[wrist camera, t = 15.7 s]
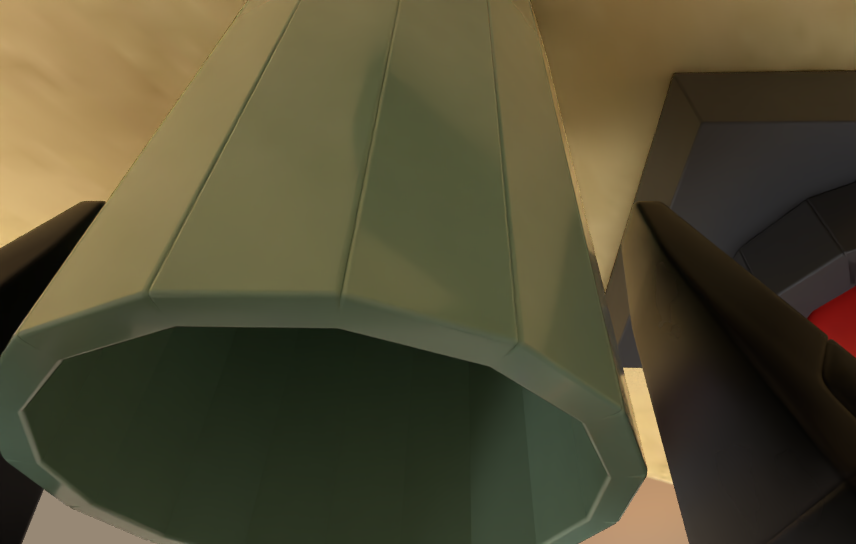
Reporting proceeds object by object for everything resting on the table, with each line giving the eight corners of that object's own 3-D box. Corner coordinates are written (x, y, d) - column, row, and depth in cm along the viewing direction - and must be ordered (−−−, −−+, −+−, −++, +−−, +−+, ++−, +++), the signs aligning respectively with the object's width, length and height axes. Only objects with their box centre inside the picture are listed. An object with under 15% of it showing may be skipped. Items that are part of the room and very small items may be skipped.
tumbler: (561, -100, 10) (761, 298, 4) (526, 186, 15) (580, 586, 8) (212, -90, 11) (-232, 290, 4) (287, 187, 16) (152, 570, 9)
